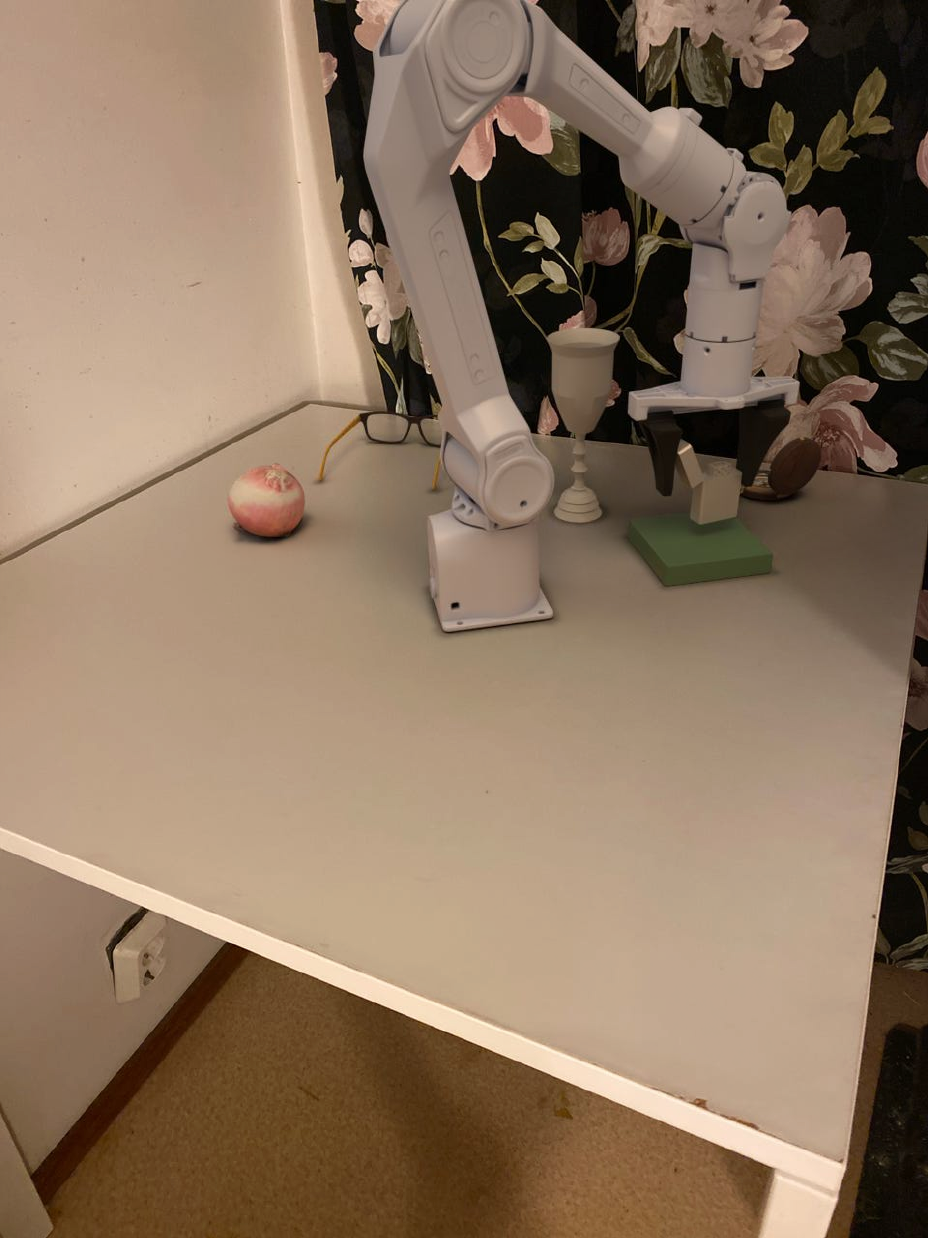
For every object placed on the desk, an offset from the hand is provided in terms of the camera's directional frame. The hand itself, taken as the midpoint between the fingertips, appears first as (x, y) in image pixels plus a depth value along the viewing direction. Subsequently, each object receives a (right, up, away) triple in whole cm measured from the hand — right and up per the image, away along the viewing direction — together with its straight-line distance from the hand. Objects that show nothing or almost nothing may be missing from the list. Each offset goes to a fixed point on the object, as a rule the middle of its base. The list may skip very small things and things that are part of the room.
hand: (703, 487), depth 78 cm
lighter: (0, -3, +2) cm, 3 cm away
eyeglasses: (-30, +7, +27) cm, 40 cm away
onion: (-42, -3, +12) cm, 44 cm away
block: (0, -6, +4) cm, 7 cm away
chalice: (-10, -1, +13) cm, 16 cm away
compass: (+10, +1, +14) cm, 18 cm away
